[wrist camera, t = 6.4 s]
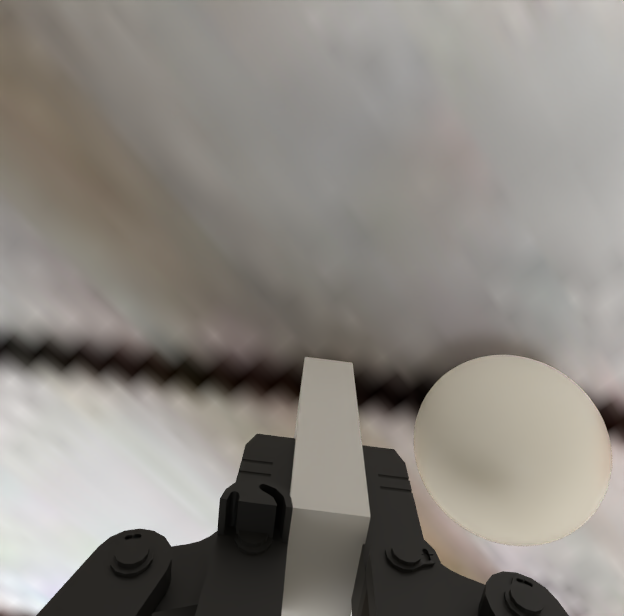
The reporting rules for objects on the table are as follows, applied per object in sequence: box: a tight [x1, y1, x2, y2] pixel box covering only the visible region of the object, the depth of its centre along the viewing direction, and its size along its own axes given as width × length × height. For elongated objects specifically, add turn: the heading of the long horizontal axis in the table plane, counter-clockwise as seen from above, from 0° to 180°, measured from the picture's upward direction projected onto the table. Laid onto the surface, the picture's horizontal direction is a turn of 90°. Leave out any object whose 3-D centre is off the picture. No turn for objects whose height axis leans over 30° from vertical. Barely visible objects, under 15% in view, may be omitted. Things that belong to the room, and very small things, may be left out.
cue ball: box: [414, 355, 612, 546], centre depth 15 cm, size 6×6×6 cm
